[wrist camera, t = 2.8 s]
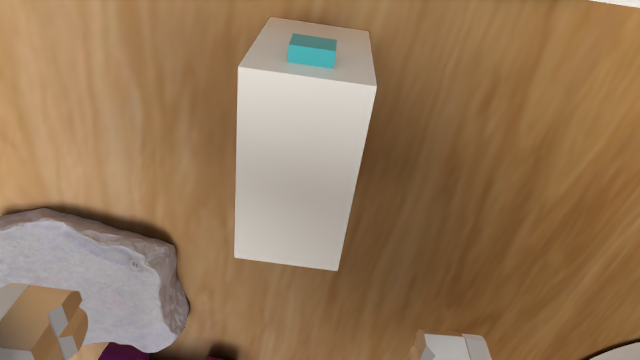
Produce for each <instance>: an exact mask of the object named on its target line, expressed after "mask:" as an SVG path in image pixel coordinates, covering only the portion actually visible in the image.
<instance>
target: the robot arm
mask: <svg viewBox="0 0 640 360" xmlns="http://www.w3.org/2000/svg"><path fill="white" fill-rule="evenodd" d="M81 302H82V297H81V295H80V292H79V291H74V290H66V289H59V288H51V287H43V286H36V285H29V284H20V283H12V282H10V283H8V284H7V285H5V286H3V287H2V288H1V289H0V360H67V359H69V358H70V357H72V356H73V355H75V354H76V353H77V352H78V351H79V349H80V348H81V346H82V344H83V342H84V340H85V336H86V333H87V330H88V317H87V313H86V312H85V311H84V310H83V309H81V308H80V307H79V305H80V304H81ZM415 341H416V345H415V346H413V347H412V348H410V350H409V353H408V356H407V360H492V359H491V356H490V353H489V350H488V347H487V344H486V341H485V339H484V338H483V337H482V336H480V335H472V334H460V333H458V332H448V331H438V330H427V329H420V330H419V331H418V332H417V334H416V336H415ZM590 360H640V342H638V343H634V344H630V345H626V346H623V347H620V348H617V349H614V350H611V351H608V352H605V353H603V354H601V355H598V356H596V357H594V358H592V359H590Z"/></svg>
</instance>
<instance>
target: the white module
mask: <svg viewBox="0 0 640 360" xmlns="http://www.w3.org/2000/svg"><path fill="white" fill-rule="evenodd" d="M376 89H377V83H376V77H375V70H374V64H373V57H372V51H371V44H370V38H369V32H368V31H364V30H358V29H351V28H344V27H337V26H330V25H324V24H317V23H310V22H303V21H296V20H290V19H283V18H276V17H270V18H269V20H268V21H267V23H266V24H265V26H264V27H263V29H262V30H261V32H260V33H259V35H258V37H257V38H256V40H255V41H254V43H253V44H252V46H251V47H250V49H249V51H248V52H247V54H246V55H245V57H244V58H243V60H242V61H241V63H240V64H239V66H238V96H237V146H236V196H235V246H234V258H241V259H249V260H256V261H264V262H271V263H279V264H287V265H294V266H302V267H309V268H317V269H325V270H332V271H338V266H339V261H340V257H341V252H342V247H343V243H344V238H345V233H346V229H347V224H348V219H349V215H350V210H351V206H352V201H353V196H354V192H355V187H356V182H357V178H358V173H359V168H360V164H361V159H362V154H363V150H364V145H365V140H366V136H367V131H368V126H369V122H370V117H371V112H372V108H373V103H374V99H375V94H376Z"/></svg>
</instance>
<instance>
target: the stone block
mask: <svg viewBox="0 0 640 360" xmlns="http://www.w3.org/2000/svg"><path fill="white" fill-rule="evenodd" d="M176 265H177V257H176V250H175V247H174V246H173V245H171V244H169V243H167V242H164V241H162V240H160V239H155V238H148V237H145V236H143V235H140V234H138V233H133V232H131V231H126V230H119V229H116V228H114V227H111V226H108V225H105V224H103V223H101V222H99V221H95V220H90V219H85V218H82V217H79V216H76V215H71V214H65V213H61V212H58V211H55V210H52V209H48V208H40V209H36V210H31V211H24V212H20V213H13V214H9V215H3V216H1V217H0V289H1V288H2V287H3V286H5V285H7V284H8V283H10V282H12V283H20V284H29V285H36V286H43V287H51V288H59V289H66V290H74V291H79V292H80V295H81V297H82V302H81V304H80V305H79V307H80V308H81V309H83V310H84V311H85V312H86V313H87V317H88V330H87V333H86V336H85V340H84V342H83V344H82V346H83V345H88V344H92V343H98V342H116V343H118V344H129V345H132V346H134V347H136V348H137V349H139V350H141V351H142V352H146V353H154V352H158V351H160V350H162V349H164V348H166V347H168V346H170V345H171V344H172V343H173V342H174V341H175V340H176V339H177V337H178V336H179V335H180V334H181V332H182V331H183V330H184V328H185V325H186V321H187V316H188V311H189V306H188V302H187V299H186V297H185V292H184V291H183V289H182V286H181V284H180V282H179V280H178V279H177V277H176Z"/></svg>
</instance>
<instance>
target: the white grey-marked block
mask: <svg viewBox="0 0 640 360" xmlns="http://www.w3.org/2000/svg"><path fill="white" fill-rule="evenodd" d="M591 1H598V2H605V3H611V4H618V5H625V6H631V7H638V8H640V0H591Z"/></svg>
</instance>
